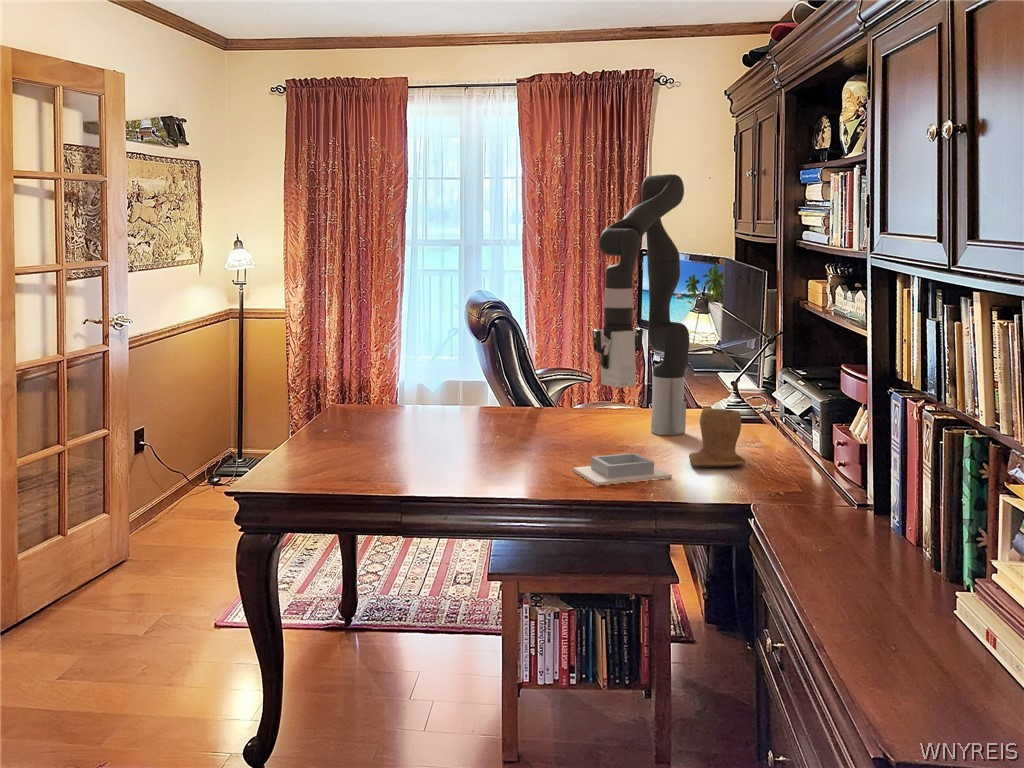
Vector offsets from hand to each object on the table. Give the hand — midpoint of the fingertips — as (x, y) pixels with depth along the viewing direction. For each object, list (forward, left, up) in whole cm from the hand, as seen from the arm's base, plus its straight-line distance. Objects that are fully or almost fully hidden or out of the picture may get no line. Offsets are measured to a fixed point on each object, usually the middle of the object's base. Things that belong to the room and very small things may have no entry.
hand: (617, 367), depth 238 cm
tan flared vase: (-19, +19, -24) cm, 36 cm away
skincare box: (0, 0, -5) cm, 5 cm away
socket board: (+8, +20, -24) cm, 32 cm away
